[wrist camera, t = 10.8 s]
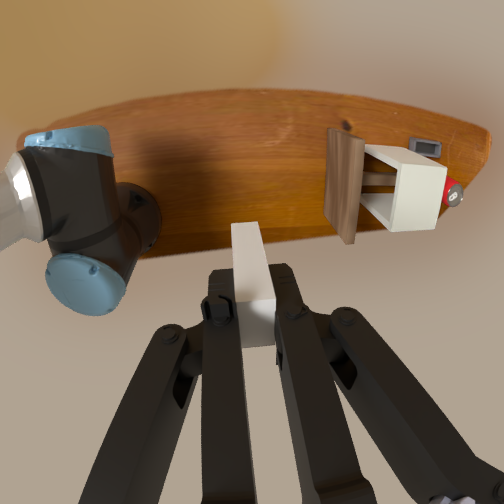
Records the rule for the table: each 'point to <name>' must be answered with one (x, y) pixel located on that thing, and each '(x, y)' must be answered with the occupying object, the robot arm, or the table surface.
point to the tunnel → (407, 190)
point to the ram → (347, 181)
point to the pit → (425, 147)
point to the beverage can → (452, 192)
